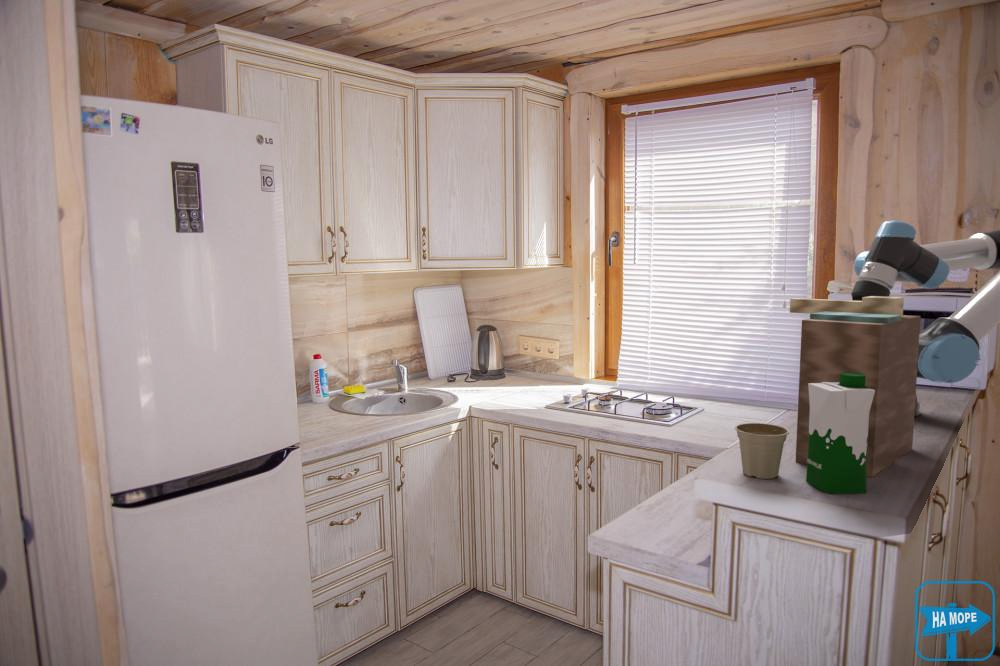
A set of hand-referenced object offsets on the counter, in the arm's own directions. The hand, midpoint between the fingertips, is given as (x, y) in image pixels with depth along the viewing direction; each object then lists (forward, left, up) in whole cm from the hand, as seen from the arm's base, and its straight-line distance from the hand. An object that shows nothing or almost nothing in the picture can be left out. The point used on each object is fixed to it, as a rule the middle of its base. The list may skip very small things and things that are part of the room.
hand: (837, 369), depth 163 cm
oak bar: (+9, +11, +14) cm, 20 cm away
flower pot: (+37, +23, -15) cm, 46 cm away
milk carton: (+29, +33, -15) cm, 47 cm away
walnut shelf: (+11, +18, -14) cm, 25 cm away
